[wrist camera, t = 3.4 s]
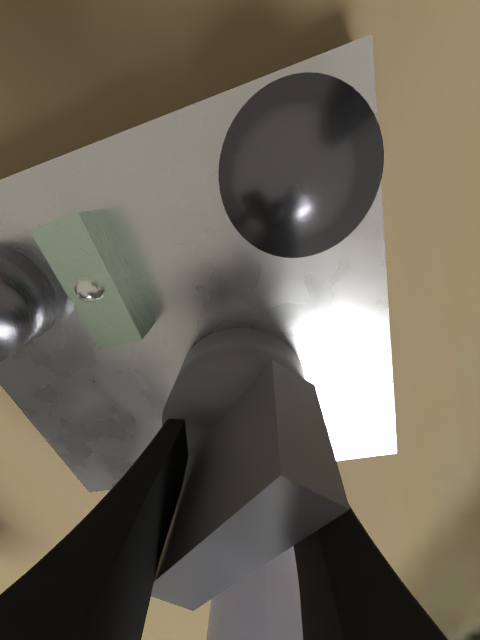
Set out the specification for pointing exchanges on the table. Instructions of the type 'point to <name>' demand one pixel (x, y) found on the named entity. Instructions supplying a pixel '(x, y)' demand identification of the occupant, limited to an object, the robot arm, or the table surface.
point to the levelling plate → (202, 262)
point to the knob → (244, 464)
